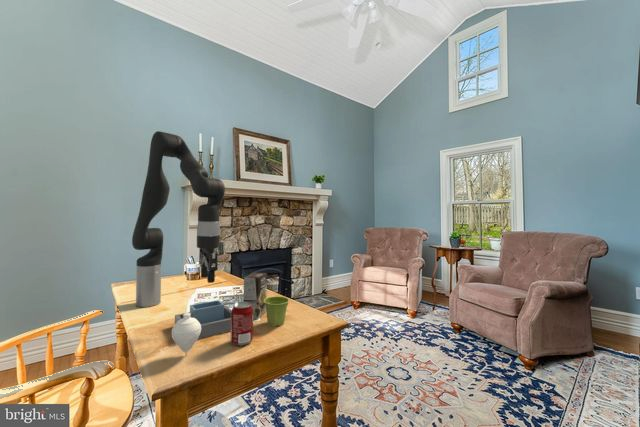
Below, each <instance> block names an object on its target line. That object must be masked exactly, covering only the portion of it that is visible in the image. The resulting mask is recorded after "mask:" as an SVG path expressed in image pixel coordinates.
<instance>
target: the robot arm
mask: <svg viewBox="0 0 640 427" xmlns="http://www.w3.org/2000/svg"><path fill="white" fill-rule="evenodd" d="M148 156H149V158H148V166H147V171H146V177H145V183H144V186H143V190H142V195H141V203H140V206H139V207H140V208H139V212H138V217H137V219H136V223H135V225H134V229H133V233H132V238H131V239H132V240H131V244H132V247H133V248H134V250H136V251H141V250H143V251H144V250H145V251H146V250H149V251H148V252H147V253H146V254H144V255H143V256H141V257H138V258H137V259H136V270H135V271H136V272H135V273H136V276H135V277H136V280H135V283H136V284H135V306H136V307H138V308H147V307H154V306H157V305H159V304H160V303H161V299H162V296H161V295H162V260H163V259H162V258H163V249H164V248H163V247H164V233H163V231H162V229H161V228H160V227H149V226H150V224H151V222H152V221H153V219H154V218H155V217H156V216H157V215H158V214H159V213H160V212H161V211H162V210H163V209H164V208H165V206H166V205H167V203H168V199H169V195H170V191H171V190H170V184H169V181H168V179H167V177H166V176H165V173H164V170H163V157H166V158H167V157H169V158H175V159H178V160H179V161H180V162H179V163H180V164H179V168H180V169H179V170H180V171H181V173H182V175H184V177H185V178H186V179H187V180H188V181H189V184H190V186H191V189H192V191H193V193H194V194H195V195H196V196H198V197H200V198H209V200H208V202H207V203H205V204H201V205H199V206H198V208H197V210H198V211H197V225H196V226H197V227H196V248H198V249H199V253H198V254H199V255H198V258H199V260H198V264H199V266H200V277H201V278H206V280H207V283H208V284H212V283H215V282H216V281H215V279H216V276H215V275H216V271H218V256H219V255H218V252H215V249H218V248H219V247H220V245H221V244H220V239H221V238H220V237H221V236H220V235H221V226H220V209H221V206H222V203H223V201H224V197H225V193H226V186H225V184H224V182H223V180H222V179H219V178H214V177H209V173H208V172H209V171H207V169H206V168H205V167H204V166H203V165H202V164H201V163H200V162H199V161H198V160H197V159H196V158H195V156H194V155H193V153H192V151H191V150H190V148H189V146H188V145H187V143H186V142H185V140H184V139H183V138H182V137H181V136H180V135H177V134H173V133H170V132H164V131H155V132H154V134H152V137H151V141H150V147H149V155H148Z"/></svg>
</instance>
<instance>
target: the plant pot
mask: <svg viewBox="0 0 640 427" xmlns="http://www.w3.org/2000/svg"><path fill="white" fill-rule="evenodd" d="M289 302H290V298H288V297H285V296H278V295H277V296H270V297H267V298H266V299H264V303H265V306H266V312H265V313H266V319H267V320H266V321H267V324H268V325H269V326H272V327H276V326H283V325H284V324H285V322H286V313H287V307H288V304H289Z"/></svg>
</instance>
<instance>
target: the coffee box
mask: <svg viewBox="0 0 640 427" xmlns="http://www.w3.org/2000/svg"><path fill="white" fill-rule="evenodd" d="M267 289H268V273H267V272H252V273H250V274H248V275H246V276H244V277H243V296H242V299H243V300H242V302H250V303H251V306H252V308H253V320H255V319H256V321H257V320H259V319H260V318H261V317H262V316H264V314H265V313H267V312H266V306H265V303H264V299H266V298H268V297H267V295H268V294H267V293H268V290H267Z"/></svg>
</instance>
